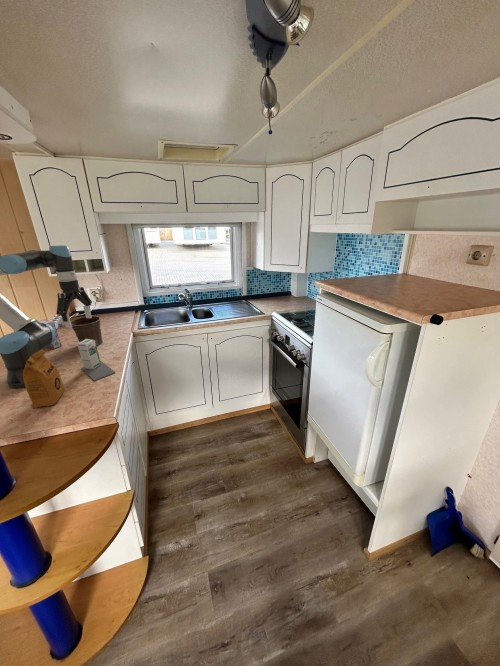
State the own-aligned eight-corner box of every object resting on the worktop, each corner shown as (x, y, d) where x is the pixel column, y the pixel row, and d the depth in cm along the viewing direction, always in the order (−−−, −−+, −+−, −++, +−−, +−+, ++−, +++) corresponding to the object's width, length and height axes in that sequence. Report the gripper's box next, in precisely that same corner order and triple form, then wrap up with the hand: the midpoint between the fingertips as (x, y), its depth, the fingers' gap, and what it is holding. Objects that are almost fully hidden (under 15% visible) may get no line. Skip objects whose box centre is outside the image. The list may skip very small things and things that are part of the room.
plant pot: (90, 351, 159) (83, 326, 153) (70, 348, 164) (63, 323, 158) (111, 340, 173) (106, 317, 167) (92, 337, 178) (86, 314, 172)
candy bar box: (62, 346, 167) (54, 321, 160) (53, 349, 163) (45, 324, 156) (52, 343, 171) (44, 318, 165) (43, 346, 167) (35, 321, 161)
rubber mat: (94, 381, 129) (94, 380, 129) (81, 368, 140) (81, 367, 140) (115, 372, 136) (115, 371, 135) (101, 361, 147) (101, 360, 147)
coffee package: (70, 390, 122) (55, 346, 114) (55, 407, 111) (38, 360, 103) (46, 392, 121) (30, 348, 113) (29, 409, 110) (10, 362, 101)
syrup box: (93, 369, 138) (86, 344, 132) (83, 368, 139) (76, 343, 134) (101, 364, 143) (95, 339, 137) (92, 363, 144) (85, 338, 139)
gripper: (53, 286, 114) (66, 332, 122) (93, 275, 136) (102, 314, 145) (37, 285, 115) (52, 331, 123) (80, 275, 138) (90, 314, 146)
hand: (79, 322), depth 134 cm, fingers open, 13 cm apart
